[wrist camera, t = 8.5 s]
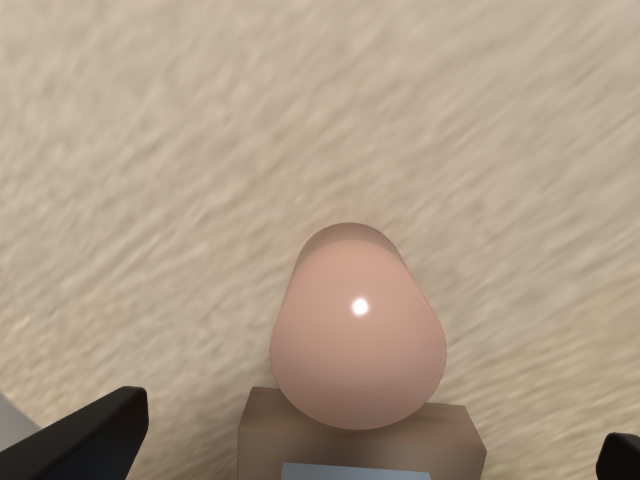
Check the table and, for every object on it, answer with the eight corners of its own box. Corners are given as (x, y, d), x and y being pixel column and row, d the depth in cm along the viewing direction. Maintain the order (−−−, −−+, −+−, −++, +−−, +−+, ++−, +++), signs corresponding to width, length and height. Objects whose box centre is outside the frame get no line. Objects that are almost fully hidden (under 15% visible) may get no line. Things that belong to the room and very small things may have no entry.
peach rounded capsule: (410, 227, 14) (461, 283, 8) (395, 328, 15) (431, 437, 10) (298, 218, 14) (273, 267, 9) (292, 319, 16) (266, 421, 10)
